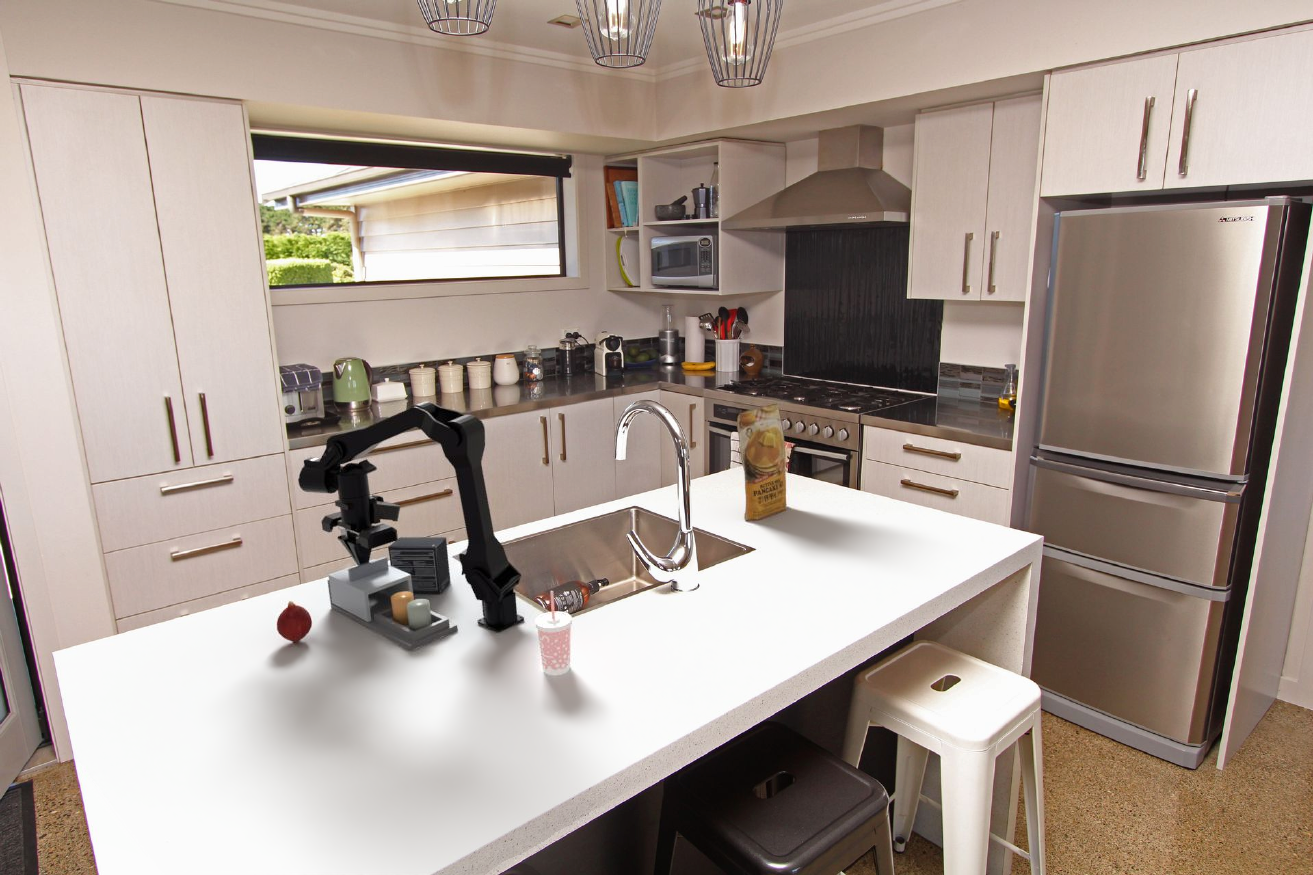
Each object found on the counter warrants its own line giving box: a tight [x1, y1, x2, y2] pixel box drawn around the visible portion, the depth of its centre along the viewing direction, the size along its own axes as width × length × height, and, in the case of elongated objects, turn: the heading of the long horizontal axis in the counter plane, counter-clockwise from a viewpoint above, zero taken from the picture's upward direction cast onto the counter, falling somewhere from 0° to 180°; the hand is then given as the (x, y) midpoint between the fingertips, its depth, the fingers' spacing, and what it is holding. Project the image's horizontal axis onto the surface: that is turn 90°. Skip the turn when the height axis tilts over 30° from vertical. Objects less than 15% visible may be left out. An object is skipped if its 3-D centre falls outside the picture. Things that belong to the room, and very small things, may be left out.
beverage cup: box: [534, 590, 573, 676], centre depth 132 cm, size 6×6×14 cm
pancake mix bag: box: [736, 403, 787, 521], centre depth 204 cm, size 7×19×28 cm, turn 132°
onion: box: [276, 600, 313, 643], centre depth 144 cm, size 6×6×8 cm
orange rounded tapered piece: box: [391, 591, 415, 625], centre depth 149 cm, size 4×4×5 cm
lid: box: [327, 556, 413, 622], centre depth 156 cm, size 14×10×8 cm
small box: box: [387, 536, 452, 595], centre depth 166 cm, size 11×6×10 cm, turn 84°
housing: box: [327, 579, 459, 652], centre depth 152 cm, size 28×10×6 cm, turn 50°
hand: (364, 569), depth 157 cm, fingers closed
